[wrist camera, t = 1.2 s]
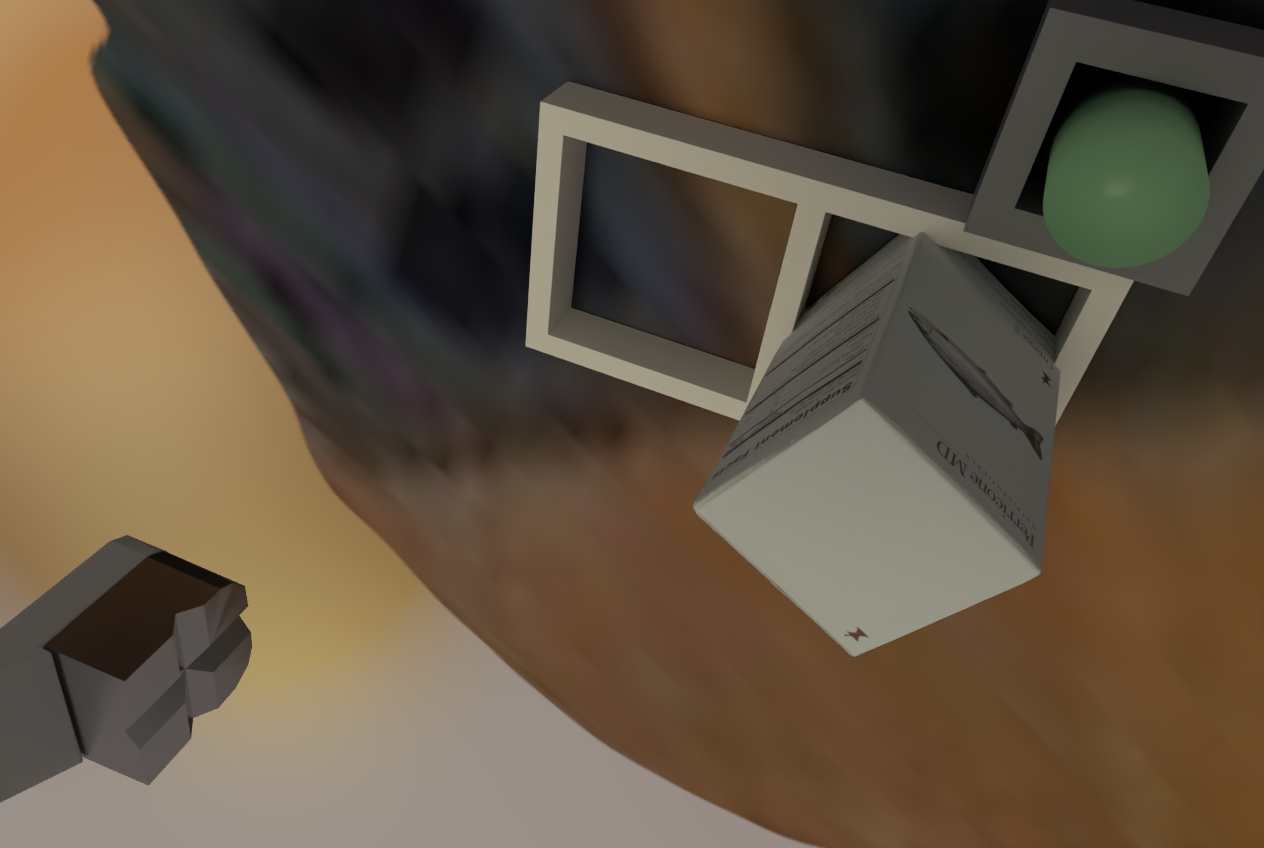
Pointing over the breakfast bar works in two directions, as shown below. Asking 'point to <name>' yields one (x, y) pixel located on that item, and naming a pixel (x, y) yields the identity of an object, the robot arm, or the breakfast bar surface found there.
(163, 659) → the robot arm
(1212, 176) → the button housing
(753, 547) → the supplement box
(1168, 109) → the button
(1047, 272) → the white open frame
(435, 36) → the breakfast bar surface
